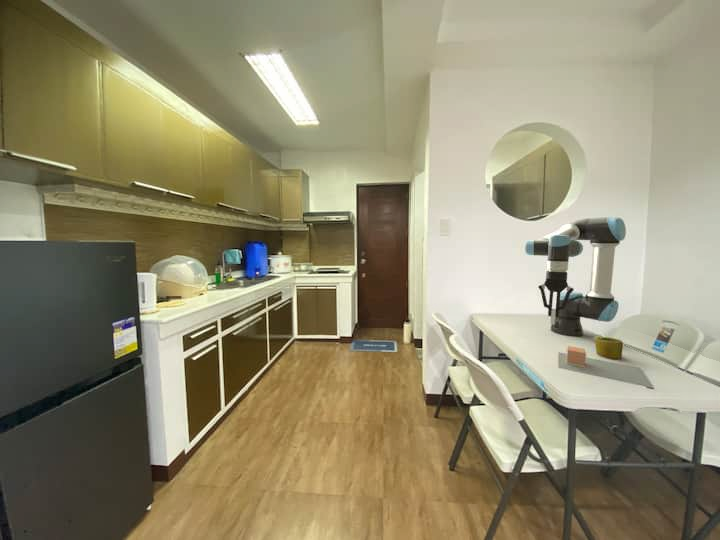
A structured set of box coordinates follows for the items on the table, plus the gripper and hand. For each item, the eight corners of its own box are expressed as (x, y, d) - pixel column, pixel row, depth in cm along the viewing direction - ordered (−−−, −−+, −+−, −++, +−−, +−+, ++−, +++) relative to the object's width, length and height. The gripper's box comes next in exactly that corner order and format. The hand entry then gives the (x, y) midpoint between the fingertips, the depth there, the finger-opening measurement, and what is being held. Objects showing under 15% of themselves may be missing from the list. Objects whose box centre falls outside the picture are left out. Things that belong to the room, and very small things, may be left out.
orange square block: (566, 358, 126) (567, 345, 125) (583, 362, 122) (584, 348, 122) (566, 363, 121) (567, 350, 120) (584, 367, 117) (585, 353, 117)
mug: (633, 358, 122) (624, 335, 124) (607, 363, 125) (598, 341, 126) (616, 353, 134) (608, 332, 136) (592, 357, 136) (584, 337, 138)
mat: (558, 352, 133) (558, 352, 133) (640, 368, 117) (640, 367, 117) (558, 368, 117) (558, 367, 117) (653, 389, 101) (653, 388, 101)
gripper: (538, 270, 123) (534, 323, 125) (576, 272, 116) (571, 328, 118) (539, 269, 129) (535, 319, 132) (575, 271, 122) (570, 324, 124)
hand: (552, 323), depth 125 cm, fingers closed
